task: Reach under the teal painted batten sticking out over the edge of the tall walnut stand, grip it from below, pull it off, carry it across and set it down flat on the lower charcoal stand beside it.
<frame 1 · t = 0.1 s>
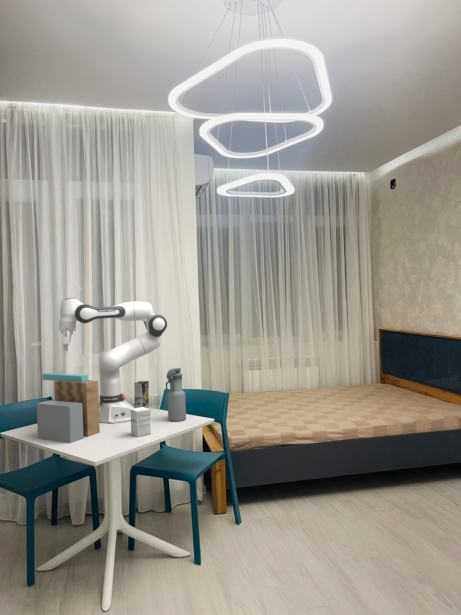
hand: (65, 352, 250), 39 cm above the table, tool pointing down, fingers open, 8 cm apart
teal batten: (64, 380, 236), point 26 cm above the table, touching walnut stand
walnut stand: (77, 432, 232), on the table
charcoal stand: (60, 438, 222), on the table
coffee box: (142, 408, 287), on the table
water bottle: (176, 420, 252), on the table
supplement box: (141, 435, 224), on the table
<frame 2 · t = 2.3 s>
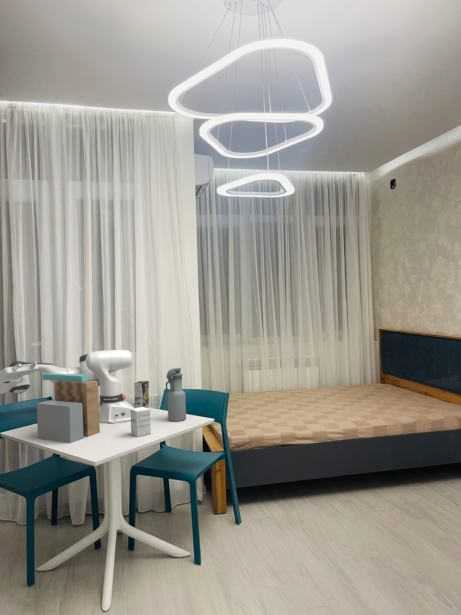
hand: (28, 363, 248), 34 cm above the table, tool pointing upward, fingers open, 8 cm apart
nothing on the table moved.
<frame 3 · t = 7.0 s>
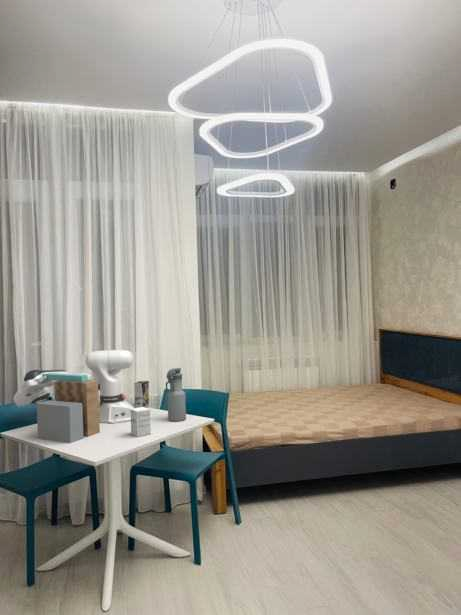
hand: (50, 375, 240), 28 cm above the table, tool pointing upward, fingers closed on teal batten, 4 cm apart
teal batten: (64, 380, 236), point 26 cm above the table, touching gripper, walnut stand
everything else where it was.
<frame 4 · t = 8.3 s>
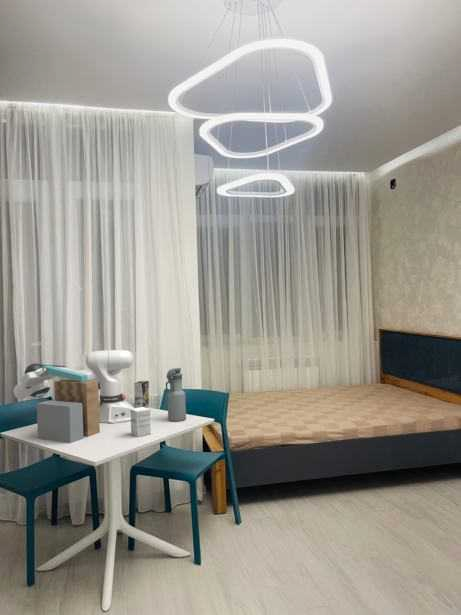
hand: (50, 368, 240), 32 cm above the table, tool pointing upward, fingers closed on teal batten, 4 cm apart
teal batten: (64, 376, 236), point 28 cm above the table, tilted 9°, touching gripper, walnut stand
everything else where it was.
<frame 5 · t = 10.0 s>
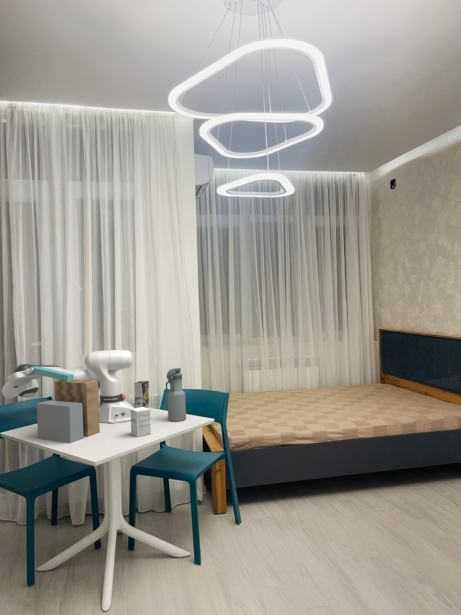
hand: (37, 368, 245), 32 cm above the table, tool pointing upward, fingers closed on teal batten, 4 cm apart
teal batten: (51, 376, 240), point 28 cm above the table, tilted 7°, touching gripper, walnut stand
everything else where it was.
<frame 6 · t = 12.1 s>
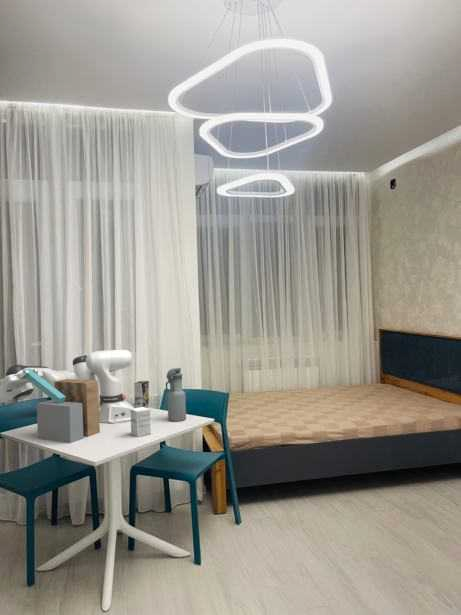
hand: (32, 370, 232), 32 cm above the table, tool pointing upward, fingers closed on teal batten, 4 cm apart
teal batten: (42, 388, 228), point 24 cm above the table, tilted 28°, touching gripper
everything else where it was.
when the fingers open (21 cm above the table, at t = 15.5 s): teal batten stays where it is, resting on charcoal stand.
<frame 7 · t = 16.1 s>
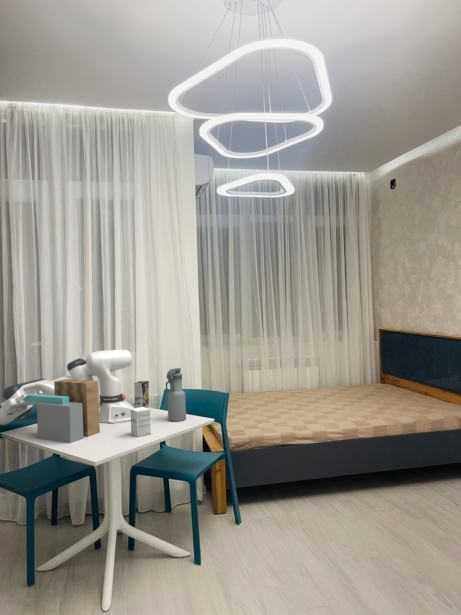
hand: (33, 393, 230), 20 cm above the table, tool pointing upward, fingers open, 8 cm apart
teal batten: (44, 401, 227), point 17 cm above the table, touching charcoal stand
everything else where it was.
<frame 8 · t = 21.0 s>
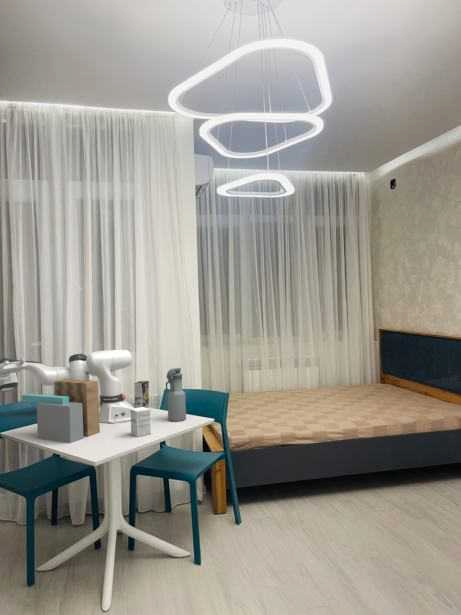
hand: (15, 361, 239), 36 cm above the table, tool pointing upward, fingers open, 8 cm apart
nothing on the table moved.
at the end: teal batten inside the target area on the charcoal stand (2.1 cm from its centre), point 17.0 cm above the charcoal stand's base; teal batten touching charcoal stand; teal batten tilted 0° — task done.
